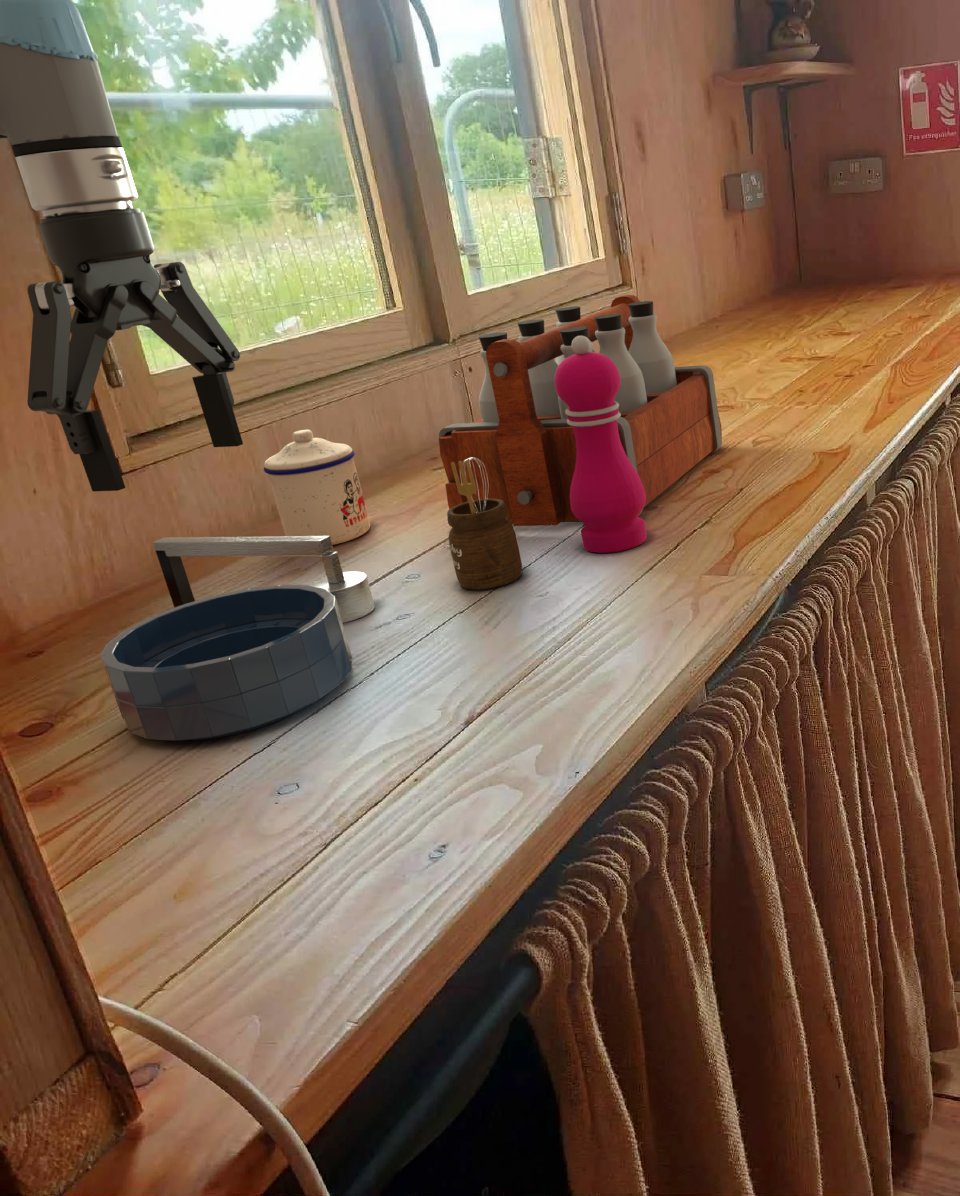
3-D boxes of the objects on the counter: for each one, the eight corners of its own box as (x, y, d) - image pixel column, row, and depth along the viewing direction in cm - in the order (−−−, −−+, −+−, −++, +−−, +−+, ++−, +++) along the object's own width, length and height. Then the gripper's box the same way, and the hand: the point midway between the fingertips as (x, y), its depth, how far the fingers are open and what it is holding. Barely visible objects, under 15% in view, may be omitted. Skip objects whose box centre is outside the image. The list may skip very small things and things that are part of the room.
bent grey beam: (386, 602, 100) (367, 528, 98) (351, 625, 96) (330, 548, 93) (201, 600, 106) (179, 530, 104) (161, 621, 102) (136, 549, 99)
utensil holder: (525, 564, 106) (500, 440, 102) (521, 586, 101) (494, 456, 96) (462, 573, 106) (433, 449, 101) (454, 596, 100) (424, 466, 96)
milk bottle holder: (439, 535, 118) (396, 351, 111) (581, 447, 149) (555, 299, 142) (623, 533, 112) (591, 338, 105) (731, 442, 143) (712, 286, 136)
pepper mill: (630, 556, 105) (594, 341, 98) (564, 554, 108) (524, 345, 101) (664, 530, 112) (633, 327, 104) (601, 529, 114) (566, 330, 107)
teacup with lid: (367, 541, 119) (339, 433, 115) (277, 555, 117) (245, 447, 113) (381, 510, 130) (356, 411, 126) (299, 523, 128) (271, 423, 124)
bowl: (77, 745, 79) (48, 668, 77) (234, 651, 93) (213, 584, 91) (259, 756, 75) (233, 675, 73) (395, 655, 89) (377, 585, 86)
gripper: (-18, 219, 78) (87, 510, 86) (237, 195, 100) (302, 428, 108) (-97, 229, 80) (13, 512, 88) (170, 203, 102) (239, 431, 110)
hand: (172, 466), depth 98 cm, fingers open, 13 cm apart
